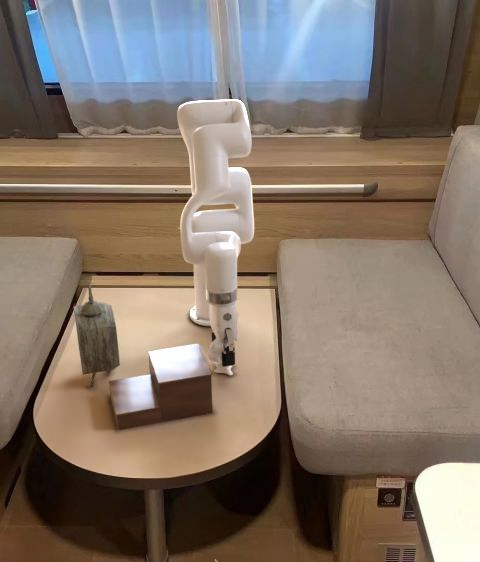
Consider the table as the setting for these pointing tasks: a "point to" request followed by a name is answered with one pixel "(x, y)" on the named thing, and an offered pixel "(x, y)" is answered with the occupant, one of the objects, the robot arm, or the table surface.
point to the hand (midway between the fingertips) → (223, 355)
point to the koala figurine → (218, 357)
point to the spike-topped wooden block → (96, 337)
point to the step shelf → (164, 389)
